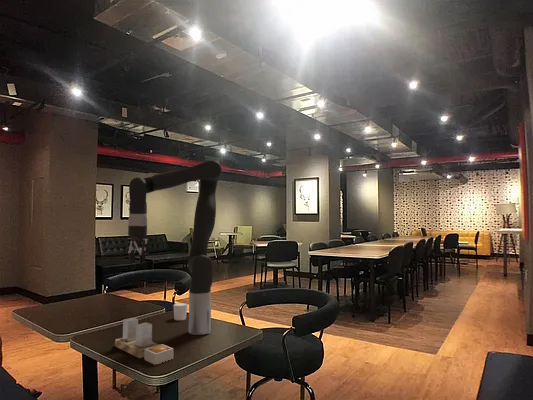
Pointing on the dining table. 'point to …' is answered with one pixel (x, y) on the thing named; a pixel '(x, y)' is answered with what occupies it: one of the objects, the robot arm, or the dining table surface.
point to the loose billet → (143, 335)
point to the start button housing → (158, 355)
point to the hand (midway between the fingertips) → (136, 263)
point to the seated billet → (129, 329)
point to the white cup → (180, 311)
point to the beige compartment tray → (131, 347)
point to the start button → (159, 348)
